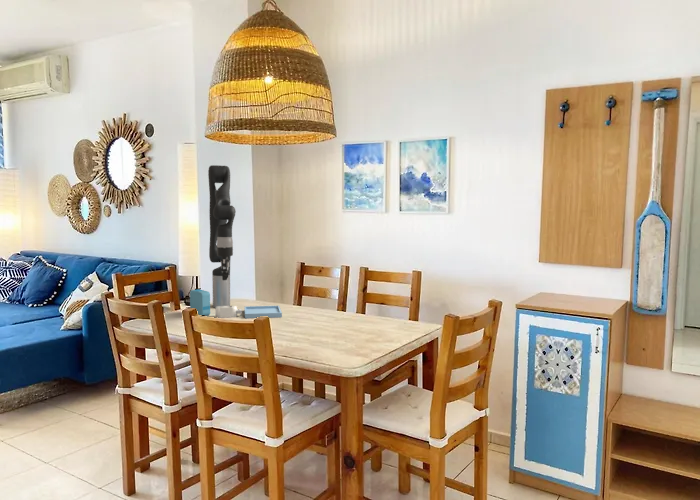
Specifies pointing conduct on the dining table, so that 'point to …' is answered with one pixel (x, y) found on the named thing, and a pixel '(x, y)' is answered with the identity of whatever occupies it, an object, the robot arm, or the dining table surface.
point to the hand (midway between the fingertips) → (225, 279)
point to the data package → (200, 301)
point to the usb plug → (227, 311)
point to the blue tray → (262, 311)
